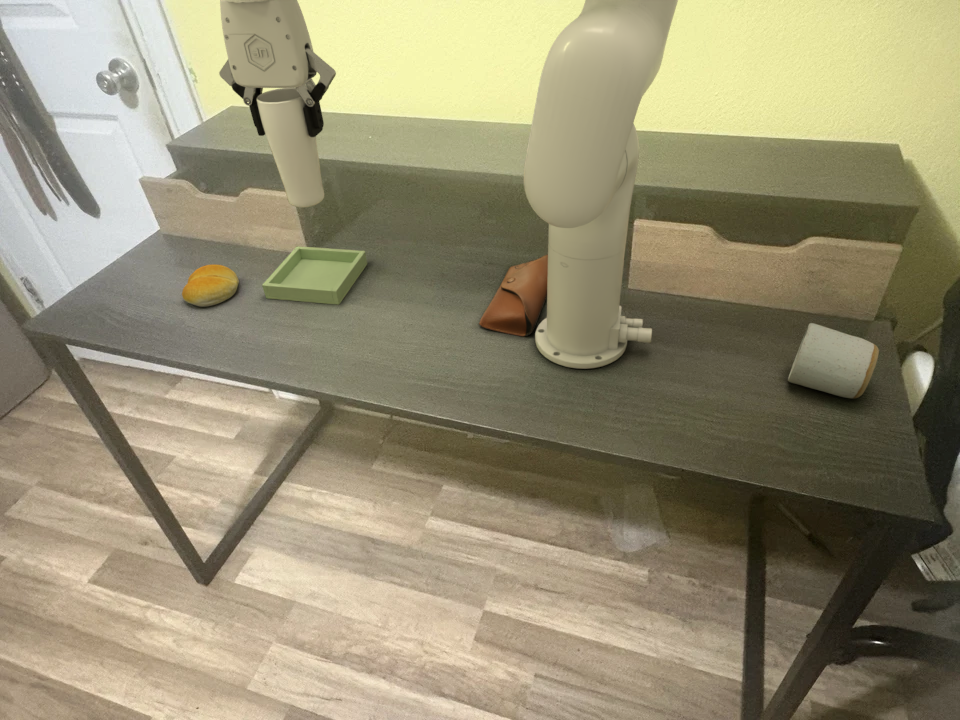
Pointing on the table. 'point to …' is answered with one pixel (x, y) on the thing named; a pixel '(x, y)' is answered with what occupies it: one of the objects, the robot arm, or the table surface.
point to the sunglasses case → (518, 299)
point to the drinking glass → (292, 145)
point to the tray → (315, 275)
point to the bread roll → (210, 285)
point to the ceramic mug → (834, 362)
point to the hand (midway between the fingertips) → (290, 132)
